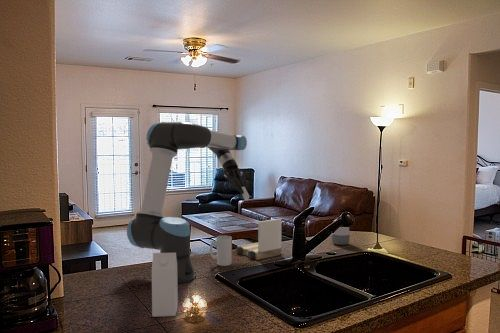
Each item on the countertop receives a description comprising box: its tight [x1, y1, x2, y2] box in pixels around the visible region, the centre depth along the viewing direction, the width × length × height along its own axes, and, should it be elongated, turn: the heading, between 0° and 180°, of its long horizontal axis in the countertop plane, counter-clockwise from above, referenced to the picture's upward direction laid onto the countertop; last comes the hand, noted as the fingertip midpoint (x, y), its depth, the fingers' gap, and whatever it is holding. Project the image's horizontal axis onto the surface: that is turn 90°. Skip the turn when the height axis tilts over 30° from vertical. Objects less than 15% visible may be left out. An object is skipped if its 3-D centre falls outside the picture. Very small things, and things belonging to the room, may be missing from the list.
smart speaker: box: [331, 218, 351, 246], centre depth 216 cm, size 10×9×14 cm
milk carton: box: [151, 252, 179, 318], centre depth 129 cm, size 7×7×19 cm
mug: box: [209, 235, 233, 267], centre depth 180 cm, size 10×7×12 cm, turn 112°
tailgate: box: [257, 218, 283, 253], centre depth 190 cm, size 1×14×14 cm, turn 127°
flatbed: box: [235, 242, 282, 261], centre depth 198 cm, size 16×17×4 cm
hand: (247, 198), depth 204 cm, fingers closed
